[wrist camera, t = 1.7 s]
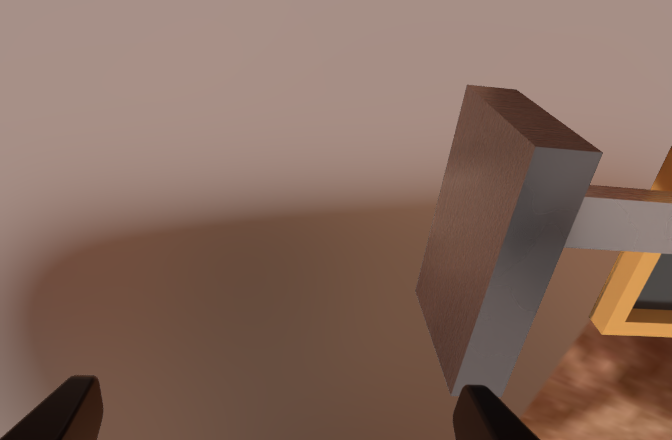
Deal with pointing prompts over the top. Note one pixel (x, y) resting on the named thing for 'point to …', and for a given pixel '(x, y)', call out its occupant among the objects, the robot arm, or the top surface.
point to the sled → (517, 230)
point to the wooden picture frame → (638, 287)
